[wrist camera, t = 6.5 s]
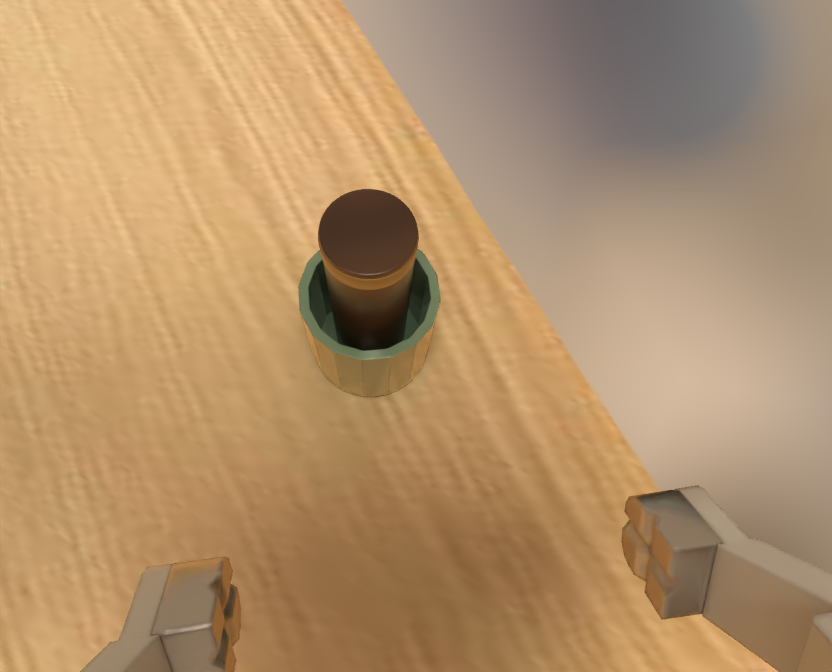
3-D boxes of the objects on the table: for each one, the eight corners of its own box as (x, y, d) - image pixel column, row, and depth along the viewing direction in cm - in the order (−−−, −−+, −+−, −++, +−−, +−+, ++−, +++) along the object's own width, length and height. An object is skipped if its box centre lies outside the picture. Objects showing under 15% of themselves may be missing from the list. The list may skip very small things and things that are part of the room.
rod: (325, 325, 36) (299, 211, 24) (384, 296, 37) (389, 172, 25) (356, 382, 35) (346, 293, 23) (416, 352, 36) (437, 250, 24)
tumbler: (294, 319, 37) (275, 265, 30) (393, 272, 38) (397, 210, 31) (345, 417, 35) (338, 384, 28) (448, 364, 37) (465, 319, 30)
